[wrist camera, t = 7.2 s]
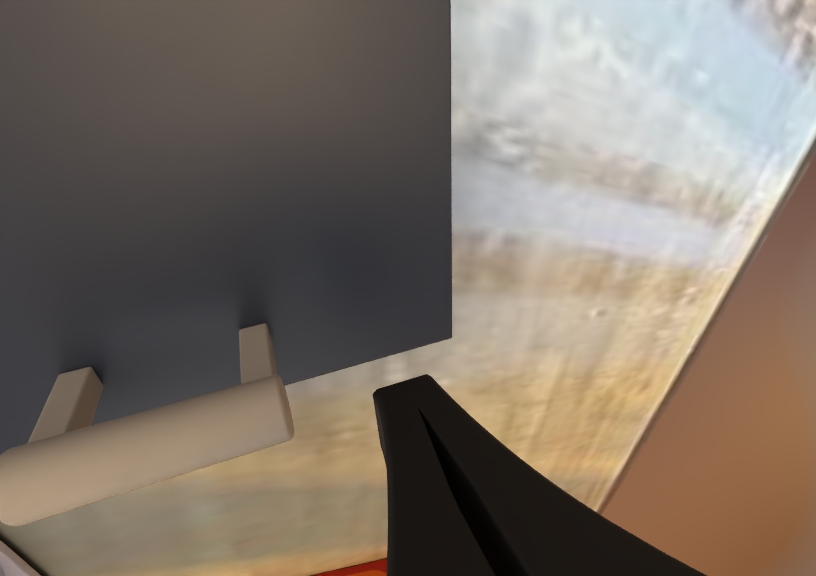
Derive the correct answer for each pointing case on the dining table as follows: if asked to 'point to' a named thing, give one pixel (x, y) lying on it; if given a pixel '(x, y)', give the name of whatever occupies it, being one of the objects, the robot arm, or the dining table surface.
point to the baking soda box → (361, 570)
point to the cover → (207, 225)
